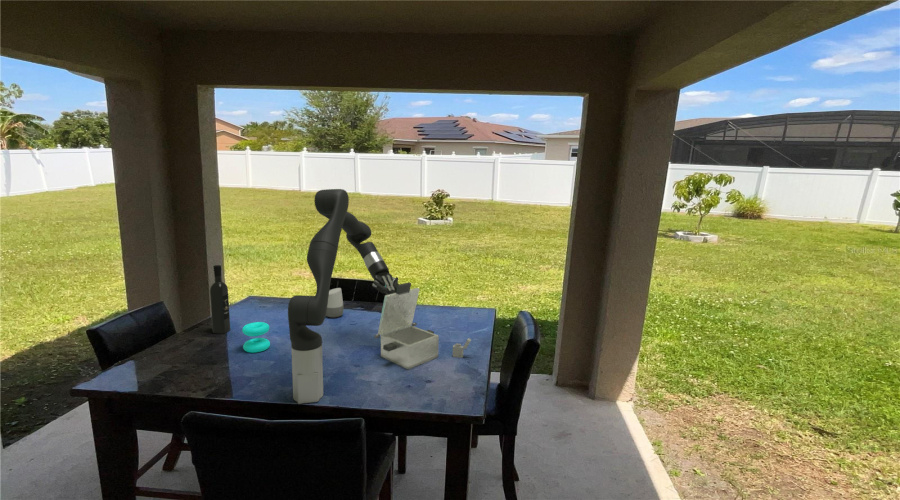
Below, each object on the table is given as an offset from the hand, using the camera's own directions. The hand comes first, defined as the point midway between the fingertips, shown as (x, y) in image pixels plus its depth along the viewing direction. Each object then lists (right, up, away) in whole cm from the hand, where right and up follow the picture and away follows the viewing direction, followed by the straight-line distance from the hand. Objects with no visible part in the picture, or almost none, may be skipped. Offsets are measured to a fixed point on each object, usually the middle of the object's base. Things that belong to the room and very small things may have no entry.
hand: (395, 299), depth 175 cm
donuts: (-56, -20, +2) cm, 60 cm away
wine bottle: (-80, -17, +19) cm, 84 cm away
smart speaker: (-36, -13, +44) cm, 59 cm away
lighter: (+27, -23, -1) cm, 35 cm away
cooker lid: (+2, -3, -2) cm, 4 cm away
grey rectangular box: (+6, -22, -2) cm, 23 cm away
